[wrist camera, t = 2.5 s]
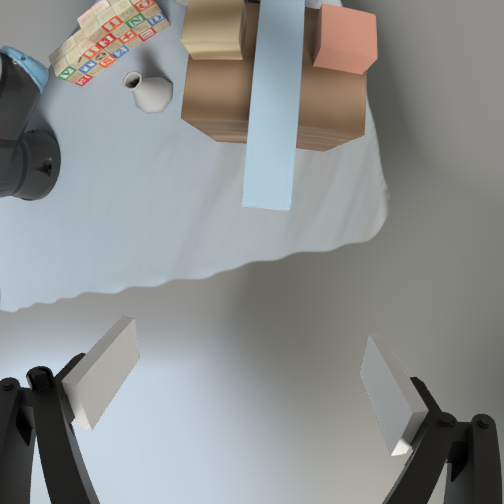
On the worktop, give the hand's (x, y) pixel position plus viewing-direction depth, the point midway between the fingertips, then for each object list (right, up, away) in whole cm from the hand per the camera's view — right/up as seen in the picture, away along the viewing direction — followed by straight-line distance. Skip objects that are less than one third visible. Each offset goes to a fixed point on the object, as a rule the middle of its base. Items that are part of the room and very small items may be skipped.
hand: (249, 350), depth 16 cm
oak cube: (-3, +27, +9) cm, 28 cm away
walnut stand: (+4, +30, +31) cm, 43 cm away
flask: (-17, +33, +31) cm, 49 cm away
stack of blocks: (-26, +46, +29) cm, 60 cm away
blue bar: (+2, +21, +10) cm, 23 cm away
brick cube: (+9, +26, +9) cm, 29 cm away
